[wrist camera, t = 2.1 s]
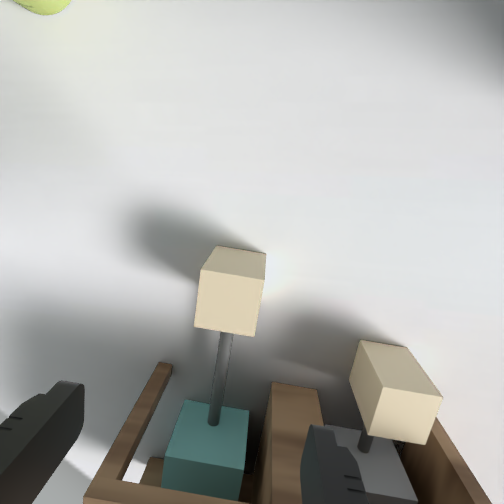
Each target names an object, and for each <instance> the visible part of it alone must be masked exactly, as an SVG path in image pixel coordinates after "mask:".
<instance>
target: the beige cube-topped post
mask: <svg viewBox="0 0 504 504" xmlns="http://www.w3.org/2000/svg"><path fill="white" fill-rule="evenodd" d="M349 382H350V385H351V388H352V391H353V394H354V396H355V399H356V402H357V405H358V408H359V411H360V414H361V416H362V419H363V422H364V426H363V429H362V431H361V430H356V429H350V428H344V427H338V426H333V425H327V424H325V427H331V428H333V430H334V434H335V438H336V443H337V446H342V447H347V448H348V449H349V451H350V452H351V454H352V455H353V457H354V458H355V459H356V461H357V463H358V466H359V470H360V473H361V477H362V481H363V484H364V487H365V491H366V495H367V498H368V501H369V504H417V503H418V499H417V497H416V495H415V492H414V490H413V488H412V485H411V483H410V481H409V478H408V476H407V474H406V471H405V469H404V467H403V465H402V462H401V460H400V458H399V455H398V453H397V451H396V448H395V446H394V444H393V441H392V439H393V440H399V441H405V442H410V443H416V444H422V445H425V444H426V441H427V439H428V436H429V434H430V431H431V428H432V426H433V423H434V420H435V418H436V415H437V412H438V410H439V407H440V405H441V402H442V399H443V396H442V395H441V394H440V392H439V391H438V389H437V388H436V387H435V385H434V384H433V382H432V381H431V380H430V378H429V377H428V376H427V374H426V373H425V371H424V370H423V369H422V367H421V366H420V364H419V363H418V362H417V360H416V359H415V358H414V356H413V355H412V353H411V352H410V351H409V349H408V348H406V347H400V346H394V345H389V344H383V343H377V342H371V341H365V340H360V341H359V345H358V349H357V352H356V356H355V359H354V363H353V366H352V370H351V373H350V377H349Z"/></svg>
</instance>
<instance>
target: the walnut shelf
mask: <svg viewBox="0 0 504 504" xmlns="http://www.w3.org/2000/svg"><path fill="white" fill-rule="evenodd" d="M171 372H172V364H167V363H162V362H159V363H158V365H157V367H156V368H155V370H154V372H153V374H152V375H151V377H150V379H149V381H148V383H147V384H146V386H145V388H144V390H143V391H142V393H141V395H140V397H139V399H138V400H137V402H136V404H135V406H134V407H133V409H132V411H131V413H130V414H129V416H128V418H127V420H126V422H125V423H124V425H123V427H122V429H121V430H120V432H119V434H118V436H117V438H116V439H115V441H114V443H113V445H112V446H111V448H110V450H109V452H108V454H107V455H106V457H105V459H104V461H103V462H102V464H101V466H100V468H99V470H98V471H97V473H96V475H95V477H94V478H93V480H92V482H91V484H90V486H89V487H88V489H87V491H86V493H85V495H84V496H83V504H302V495H301V484H300V465H301V458H302V454H303V450H304V446H305V442H306V438H307V434H308V429H309V426H310V425H311V424H313V425H319V426H324V424H323V419H322V414H321V408H320V403H319V398H318V393H317V390H316V389H311V388H305V387H299V386H293V385H288V384H282V383H276V382H272V385H271V390H270V395H269V399H268V404H267V409H266V414H265V419H264V424H263V429H262V434H261V438H260V443H259V448H258V453H257V458H256V463H255V468H254V472H253V475H249V474H243V478H242V483H241V488H240V493H239V498H238V501H232V500H227V499H221V498H216V497H210V496H205V495H199V494H193V493H188V492H182V491H177V490H171V489H166V488H161V483H162V474H163V465H164V459H160V458H154V457H150V459H149V461H148V463H147V466H146V468H145V471H144V473H143V476H142V478H141V480H140V483H139V484H138V483H132V482H127V481H122V479H123V477H124V475H125V473H126V470H127V468H128V466H129V464H130V462H131V460H132V458H133V456H134V453H135V451H136V449H137V447H138V445H139V443H140V441H141V439H142V436H143V434H144V432H145V430H146V428H147V426H148V424H149V422H150V419H151V417H152V415H153V413H154V411H155V409H156V407H157V405H158V402H159V400H160V398H161V396H162V394H163V392H164V390H165V388H166V385H167V383H168V381H169V379H170V377H171ZM400 460H401V462H402V465H403V467H404V469H405V471H406V474H407V476H408V478H409V481H410V483H411V485H412V488H413V490H414V492H415V495H416V497H417V499H418V503H417V504H492V503H491V501H490V500H489V498H488V497H487V495H486V494H485V492H484V491H483V489H482V487H481V486H480V484H479V483H478V481H477V480H476V478H475V477H474V475H473V473H472V472H471V470H470V469H469V467H468V466H467V464H466V463H465V461H464V459H463V458H462V456H461V455H460V453H459V452H458V450H457V449H456V447H455V445H454V444H453V442H452V441H451V439H450V438H449V436H448V435H447V433H446V431H445V430H444V428H443V427H442V425H441V424H440V422H439V421H438V419H437V417H436V418H435V420H434V423H433V426H432V428H431V431H430V434H429V436H428V439H427V441H426V444H425V445H422V444H416V443H410V442H405V445H404V448H403V450H402V453H401V456H400Z"/></svg>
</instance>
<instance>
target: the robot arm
mask: <svg viewBox="0 0 504 504" xmlns="http://www.w3.org/2000/svg"><path fill="white" fill-rule="evenodd" d="M84 393H85V389H84V385H83V384H79V383H73V382H67V381H59V382H58V383H57V384H56V385H55V386H54V387H53V388H52V389H51V390H50V391H49V392H48V393H47V394H46V395H45V394H38V395H36V396H34V397H33V398H31V399H29V400H27V401H26V402H24V403H22V404H21V405H20V406H19V407H18V408H17V409H16V410H15V411H14V412H13V413H12V414H11V415H10V416H9V418H7V419H6V420H5V421H4V422H3V423H2V424H1V425H0V504H32V503H33V501H34V500H35V498H36V497H37V495H38V494H39V493H40V491H41V490H42V488H43V487H44V485H45V484H46V483H47V481H48V480H49V478H50V477H51V476H52V474H53V473H54V471H55V470H56V468H57V467H58V466H59V464H60V463H61V461H62V460H63V458H64V457H65V456H66V454H67V453H68V451H69V450H70V448H71V447H72V446H73V444H74V443H75V441H76V440H77V438H78V436H79V434H80V432H81V430H82V427H83V422H84ZM300 484H301V495H302V504H369V501H368V498H367V495H366V491H365V487H364V484H363V481H362V477H361V473H360V470H359V466H358V463H357V461H356V459H355V458H354V457H353V455H352V454H351V452H350V451H349V449H348V448H347V447H342V446H337V443H336V438H335V434H334V430H333V428H331V427H325V426H319V425H313V424H311V425H310V426H309V429H308V434H307V438H306V442H305V446H304V450H303V454H302V458H301V465H300Z"/></svg>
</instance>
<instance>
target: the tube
mask: <svg viewBox="0 0 504 504" xmlns="http://www.w3.org/2000/svg"><path fill="white" fill-rule="evenodd" d="M13 1H15V2H16V3H18V4H19V5H21V6H23V7H24V8H26V9H28V10H29V11H31V12H34V13H36V14H40V15H53V14H56V13H58V12H60V11H62V10H63V9H64V8H65V7H66V6H67V5H68V4H69V3H70V2H71V0H13Z"/></svg>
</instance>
